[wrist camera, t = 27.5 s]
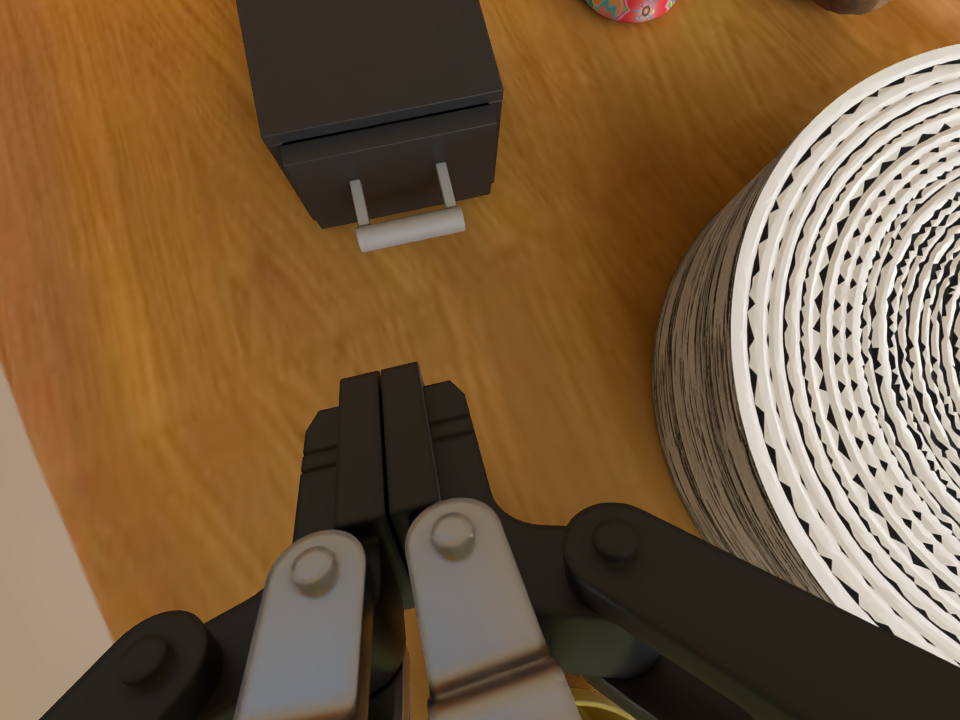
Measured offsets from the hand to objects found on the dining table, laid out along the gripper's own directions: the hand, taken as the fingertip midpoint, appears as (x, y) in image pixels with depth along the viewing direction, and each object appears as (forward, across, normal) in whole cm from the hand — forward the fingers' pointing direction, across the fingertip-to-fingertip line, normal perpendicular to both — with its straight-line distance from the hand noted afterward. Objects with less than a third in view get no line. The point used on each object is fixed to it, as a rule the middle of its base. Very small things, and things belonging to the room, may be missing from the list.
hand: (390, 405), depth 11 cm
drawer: (+30, -1, +2) cm, 30 cm away
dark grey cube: (+34, -1, 0) cm, 34 cm away
